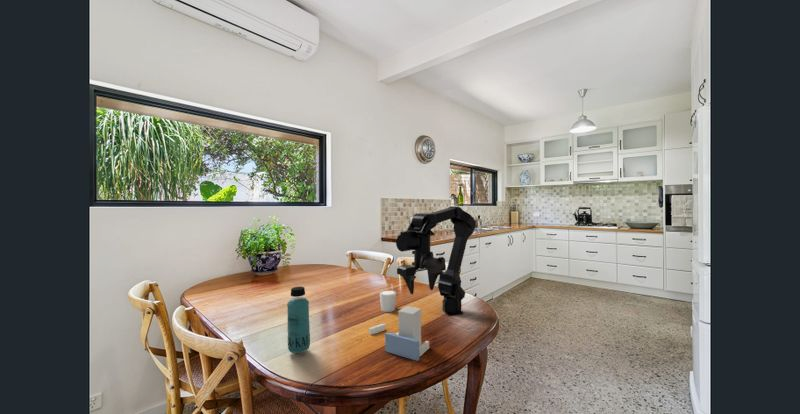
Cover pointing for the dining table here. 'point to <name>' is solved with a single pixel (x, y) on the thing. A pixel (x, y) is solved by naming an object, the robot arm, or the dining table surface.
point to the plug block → (410, 323)
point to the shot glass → (388, 300)
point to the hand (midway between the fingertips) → (421, 292)
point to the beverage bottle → (298, 321)
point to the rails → (378, 329)
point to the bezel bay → (404, 346)
